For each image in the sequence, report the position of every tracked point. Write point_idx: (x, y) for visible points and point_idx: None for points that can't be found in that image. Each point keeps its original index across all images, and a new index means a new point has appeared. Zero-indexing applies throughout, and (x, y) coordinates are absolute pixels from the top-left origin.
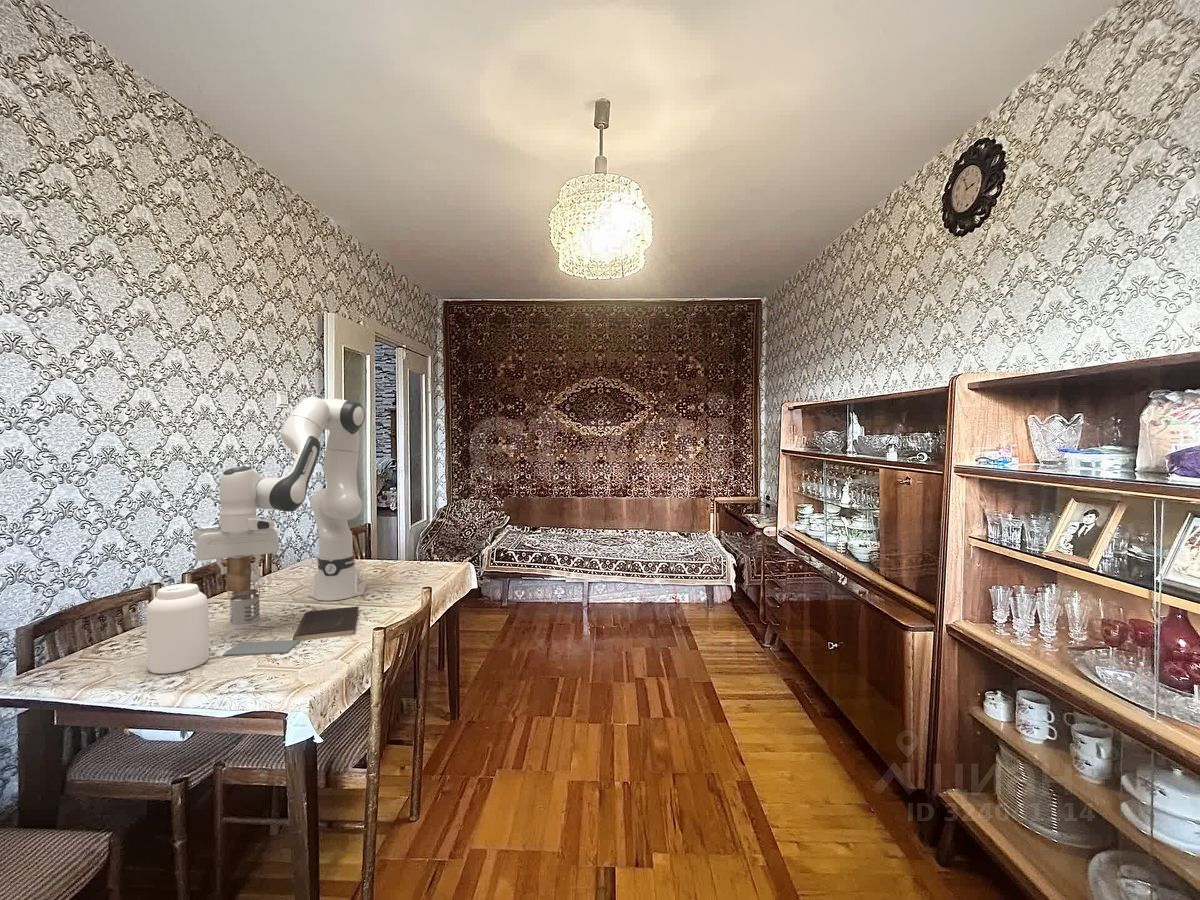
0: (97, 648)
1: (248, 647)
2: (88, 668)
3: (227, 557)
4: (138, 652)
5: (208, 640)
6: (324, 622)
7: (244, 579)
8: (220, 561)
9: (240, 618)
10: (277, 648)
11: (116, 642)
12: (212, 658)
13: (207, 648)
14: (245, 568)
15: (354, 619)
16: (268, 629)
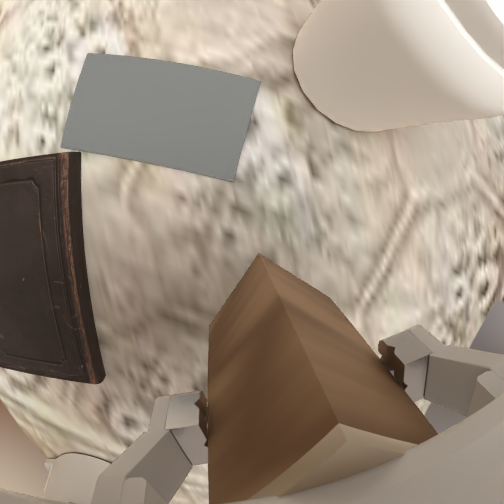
0: (499, 276)
1: (196, 118)
2: (496, 154)
3: (473, 415)
4: (453, 217)
5: (307, 50)
6: (16, 255)
7: (240, 322)
8: (492, 376)
9: None
10: (112, 84)
11: (481, 304)
12: (284, 77)
13: (300, 41)
14: (241, 387)
15: None
16: (174, 299)
